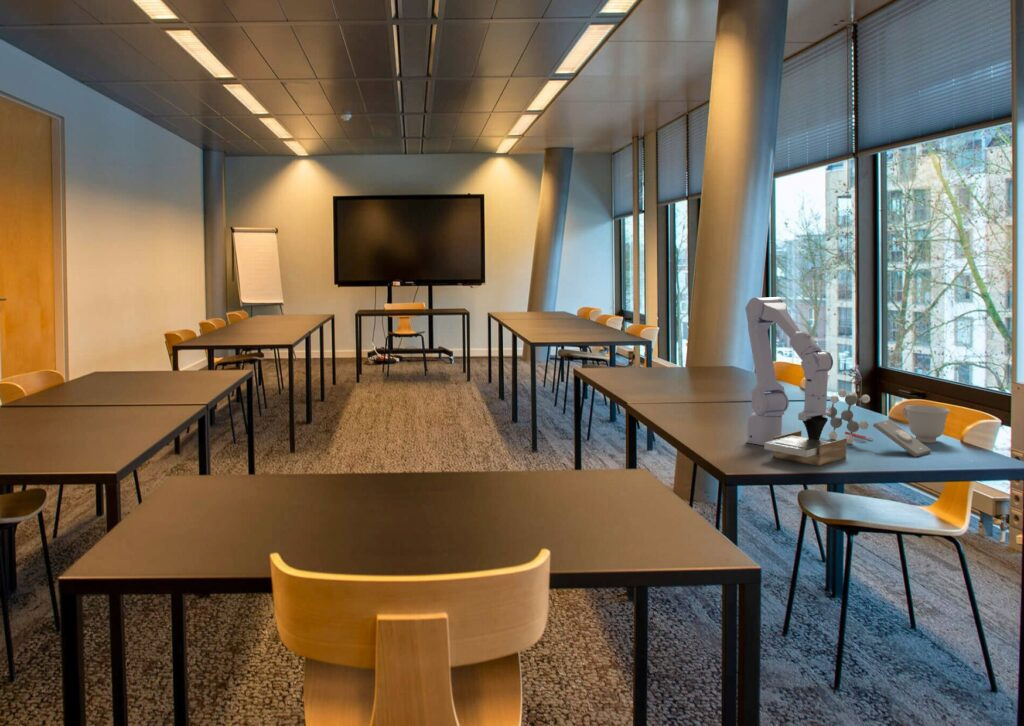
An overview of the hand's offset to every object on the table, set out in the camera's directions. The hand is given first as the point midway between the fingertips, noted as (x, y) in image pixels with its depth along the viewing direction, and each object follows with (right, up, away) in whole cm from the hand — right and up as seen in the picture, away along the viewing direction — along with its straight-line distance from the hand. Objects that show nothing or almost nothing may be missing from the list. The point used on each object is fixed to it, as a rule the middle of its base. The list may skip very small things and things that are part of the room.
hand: (813, 442), depth 219 cm
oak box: (-2, -4, -1) cm, 4 cm away
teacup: (+41, -1, +21) cm, 46 cm away
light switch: (+28, -3, +7) cm, 29 cm away
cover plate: (-6, -1, -5) cm, 8 cm away
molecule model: (+19, -2, +22) cm, 29 cm away
